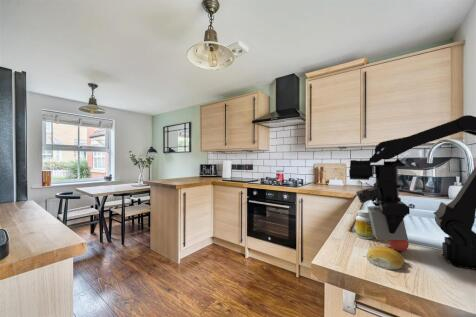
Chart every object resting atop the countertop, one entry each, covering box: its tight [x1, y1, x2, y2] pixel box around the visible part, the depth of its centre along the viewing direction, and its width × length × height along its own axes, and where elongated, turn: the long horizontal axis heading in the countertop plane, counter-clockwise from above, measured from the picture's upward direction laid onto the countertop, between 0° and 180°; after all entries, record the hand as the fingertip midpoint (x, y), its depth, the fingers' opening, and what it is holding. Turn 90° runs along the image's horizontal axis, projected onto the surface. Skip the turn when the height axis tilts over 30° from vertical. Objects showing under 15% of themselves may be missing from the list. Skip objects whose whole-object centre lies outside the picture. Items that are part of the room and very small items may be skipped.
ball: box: [387, 240, 410, 252], centre depth 62 cm, size 5×5×5 cm
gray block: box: [366, 205, 409, 241], centre depth 63 cm, size 8×8×9 cm
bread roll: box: [365, 246, 405, 271], centre depth 56 cm, size 8×9×4 cm
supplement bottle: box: [355, 209, 374, 240], centre depth 73 cm, size 5×5×10 cm
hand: (388, 228), depth 63 cm, fingers closed on gray block, 8 cm apart
